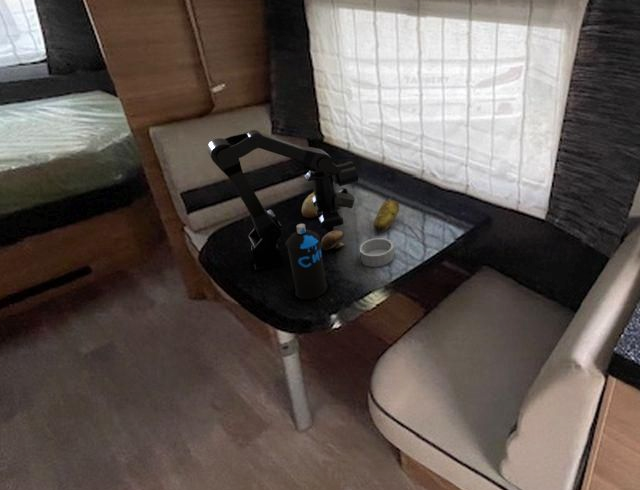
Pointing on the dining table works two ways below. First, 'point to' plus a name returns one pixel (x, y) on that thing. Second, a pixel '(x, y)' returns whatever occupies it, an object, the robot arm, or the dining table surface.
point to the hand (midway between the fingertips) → (330, 233)
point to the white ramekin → (376, 252)
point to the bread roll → (309, 207)
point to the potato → (386, 215)
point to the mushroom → (332, 240)
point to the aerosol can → (306, 263)
